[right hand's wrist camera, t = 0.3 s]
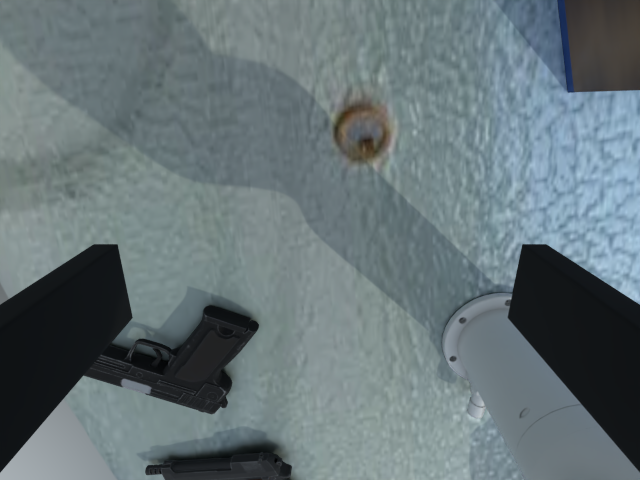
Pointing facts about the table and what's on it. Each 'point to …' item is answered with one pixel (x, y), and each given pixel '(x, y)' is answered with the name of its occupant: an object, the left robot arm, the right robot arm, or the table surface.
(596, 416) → the right robot arm
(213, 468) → the handgun
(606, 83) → the tall brown box
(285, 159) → the table surface
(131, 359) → the handgun
